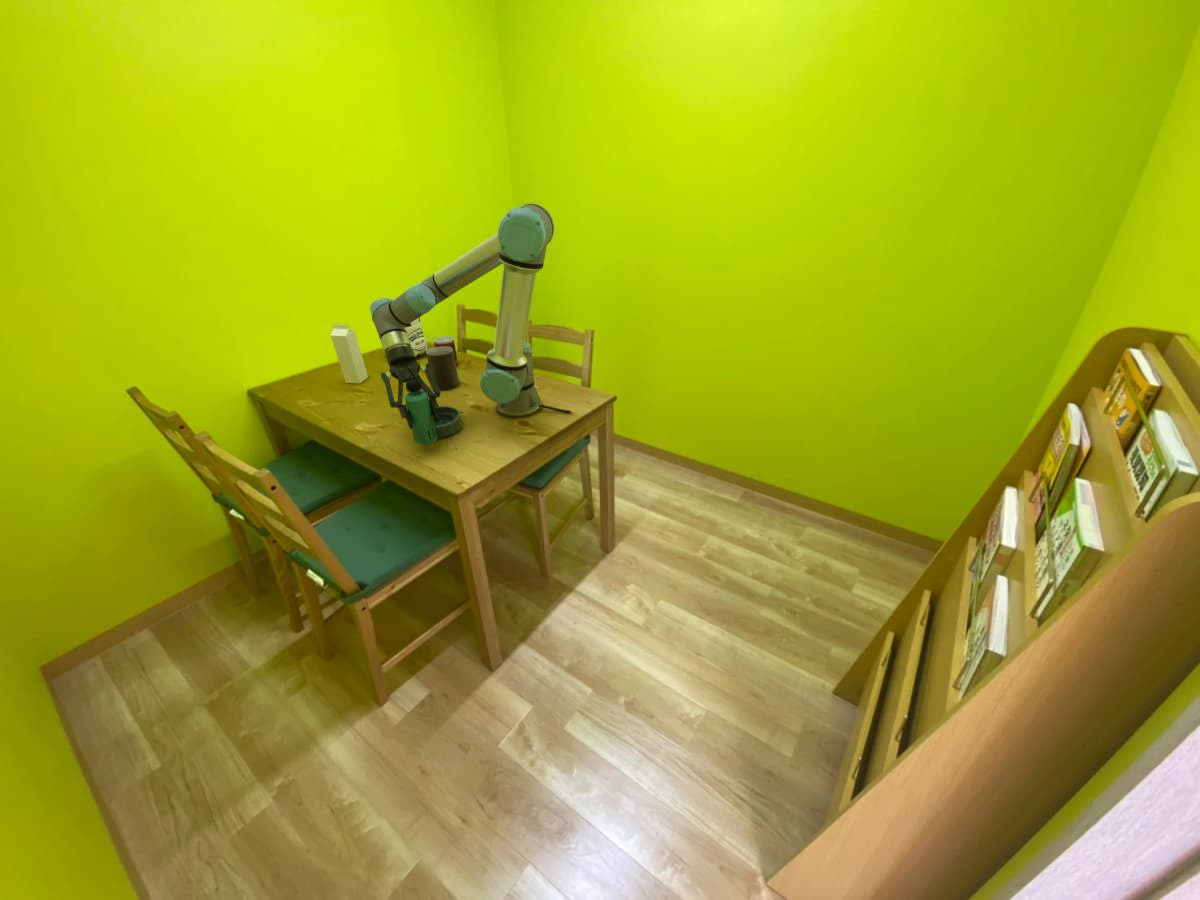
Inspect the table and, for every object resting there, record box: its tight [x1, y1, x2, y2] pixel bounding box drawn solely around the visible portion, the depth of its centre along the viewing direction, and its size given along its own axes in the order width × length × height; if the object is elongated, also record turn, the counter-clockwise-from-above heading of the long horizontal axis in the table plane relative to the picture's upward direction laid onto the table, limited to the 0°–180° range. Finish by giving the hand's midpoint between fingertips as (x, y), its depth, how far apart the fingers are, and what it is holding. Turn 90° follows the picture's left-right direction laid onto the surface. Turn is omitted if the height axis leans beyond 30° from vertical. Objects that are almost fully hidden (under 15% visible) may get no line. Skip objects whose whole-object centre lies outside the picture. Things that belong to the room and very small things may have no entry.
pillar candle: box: [425, 346, 460, 391], centre depth 177 cm, size 10×10×15 cm
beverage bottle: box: [404, 380, 438, 446], centre depth 136 cm, size 6×7×20 cm
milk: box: [330, 323, 369, 385], centre depth 180 cm, size 6×6×22 cm
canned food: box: [433, 335, 459, 366], centre depth 195 cm, size 8×8×11 cm
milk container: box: [405, 317, 429, 359], centre depth 203 cm, size 17×17×18 cm
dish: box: [431, 405, 463, 439], centre depth 152 cm, size 14×14×4 cm
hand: (424, 423), depth 134 cm, fingers closed on beverage bottle, 6 cm apart
